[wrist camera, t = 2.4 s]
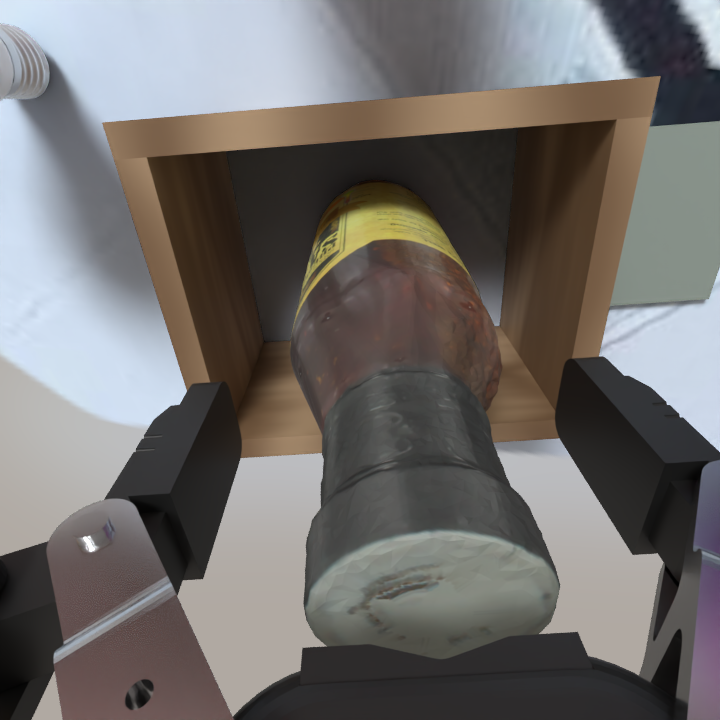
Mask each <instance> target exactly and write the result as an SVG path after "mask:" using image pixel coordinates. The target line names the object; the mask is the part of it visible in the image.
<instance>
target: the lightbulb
mask: <svg viewBox="0 0 720 720" xmlns="http://www.w3.org/2000/svg"><path fill="white" fill-rule="evenodd" d="M49 77H50V72H49V66H48V62H47V59H46V57H45V55H44V53H43V51H42V49H41V48H40V46H39V45H38V44H37V42H36V41H35V40H34V39H33V38H32V37H31V36H30V35H29V34H27V33H26V32H24V31H23V30H21V29H19V28H17V27H15V26H12V25H7V24H3V23H0V101H2V100H3V99H34V98H37V97H39V96H40V95H42V94H43V93H44V92H45V90H46V89H47V86H48V83H49Z"/></svg>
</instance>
